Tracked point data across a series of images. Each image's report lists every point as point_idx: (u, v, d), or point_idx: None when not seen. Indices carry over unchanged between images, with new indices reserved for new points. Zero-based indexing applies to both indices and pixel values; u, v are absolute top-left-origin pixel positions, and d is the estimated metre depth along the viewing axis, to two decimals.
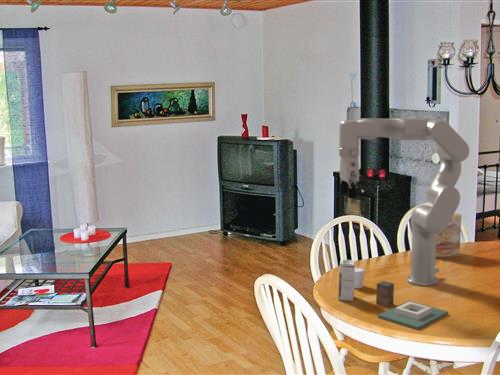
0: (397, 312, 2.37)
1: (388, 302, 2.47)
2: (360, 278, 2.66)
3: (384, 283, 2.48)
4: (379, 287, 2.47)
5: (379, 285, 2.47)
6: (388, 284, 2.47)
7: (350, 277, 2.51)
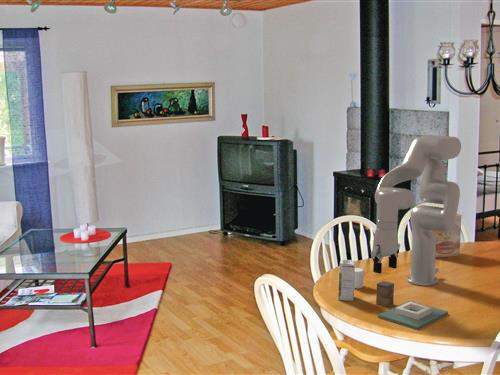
0: (397, 312, 2.37)
1: (388, 302, 2.47)
2: (360, 278, 2.66)
3: (384, 283, 2.48)
4: (379, 287, 2.47)
5: (379, 285, 2.47)
6: (388, 284, 2.47)
7: (350, 277, 2.51)
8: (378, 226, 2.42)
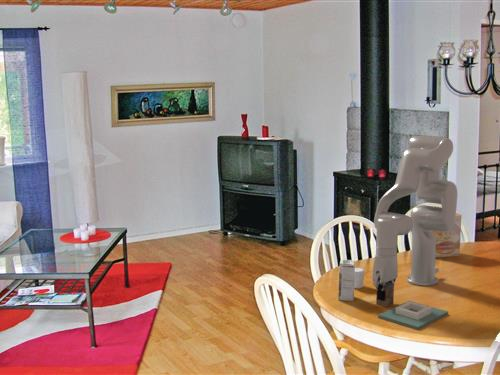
0: (397, 312, 2.37)
1: (388, 302, 2.47)
2: (360, 278, 2.66)
3: None
4: None
5: None
6: (388, 284, 2.47)
7: (350, 277, 2.51)
8: (378, 253, 2.44)
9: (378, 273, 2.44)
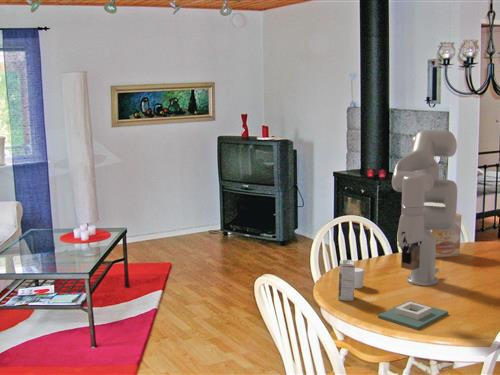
0: (397, 312, 2.37)
1: (414, 265, 2.33)
2: (360, 278, 2.66)
3: None
4: None
5: None
6: (414, 246, 2.33)
7: (350, 277, 2.51)
8: (403, 212, 2.31)
9: (404, 234, 2.30)
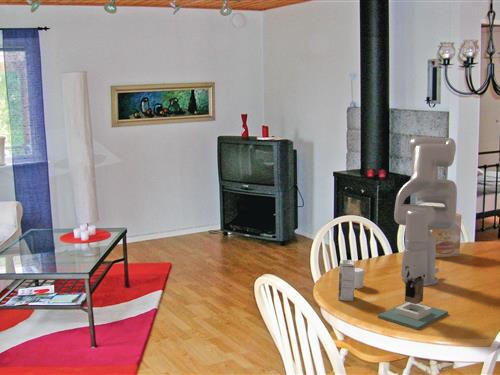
0: (397, 312, 2.37)
1: (417, 298, 2.34)
2: (360, 278, 2.66)
3: None
4: None
5: None
6: (418, 280, 2.34)
7: (350, 277, 2.51)
8: (407, 247, 2.31)
9: (407, 268, 2.31)
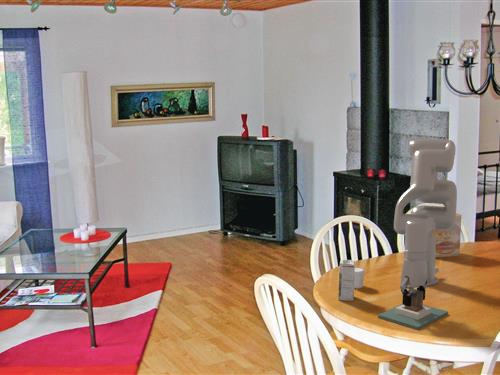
0: (397, 312, 2.37)
1: (417, 311, 2.35)
2: (360, 278, 2.66)
3: (413, 291, 2.36)
4: None
5: None
6: (417, 292, 2.35)
7: (350, 277, 2.51)
8: (406, 257, 2.32)
9: None
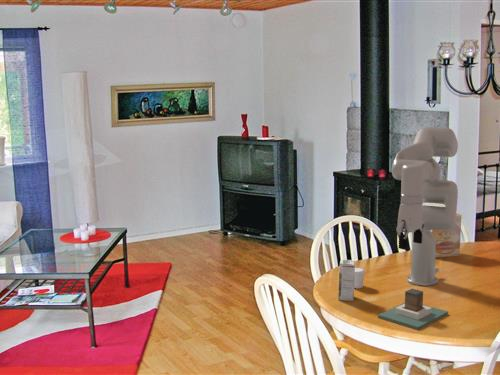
0: (397, 312, 2.37)
1: (417, 311, 2.35)
2: (360, 278, 2.66)
3: (413, 291, 2.36)
4: (408, 295, 2.35)
5: (408, 293, 2.35)
6: (417, 292, 2.35)
7: (350, 277, 2.51)
8: (403, 201, 2.33)
9: None
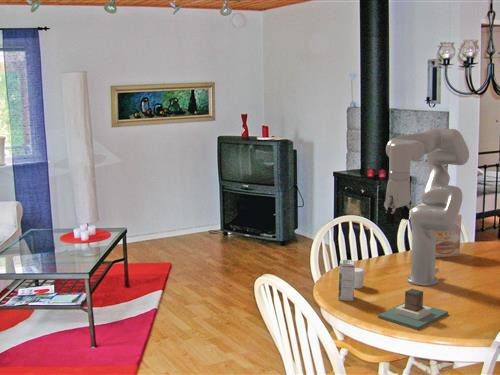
0: (397, 312, 2.37)
1: (417, 311, 2.35)
2: (360, 278, 2.66)
3: (413, 291, 2.36)
4: (408, 295, 2.35)
5: (408, 293, 2.35)
6: (417, 292, 2.35)
7: (350, 277, 2.51)
8: (391, 177, 2.44)
9: None
